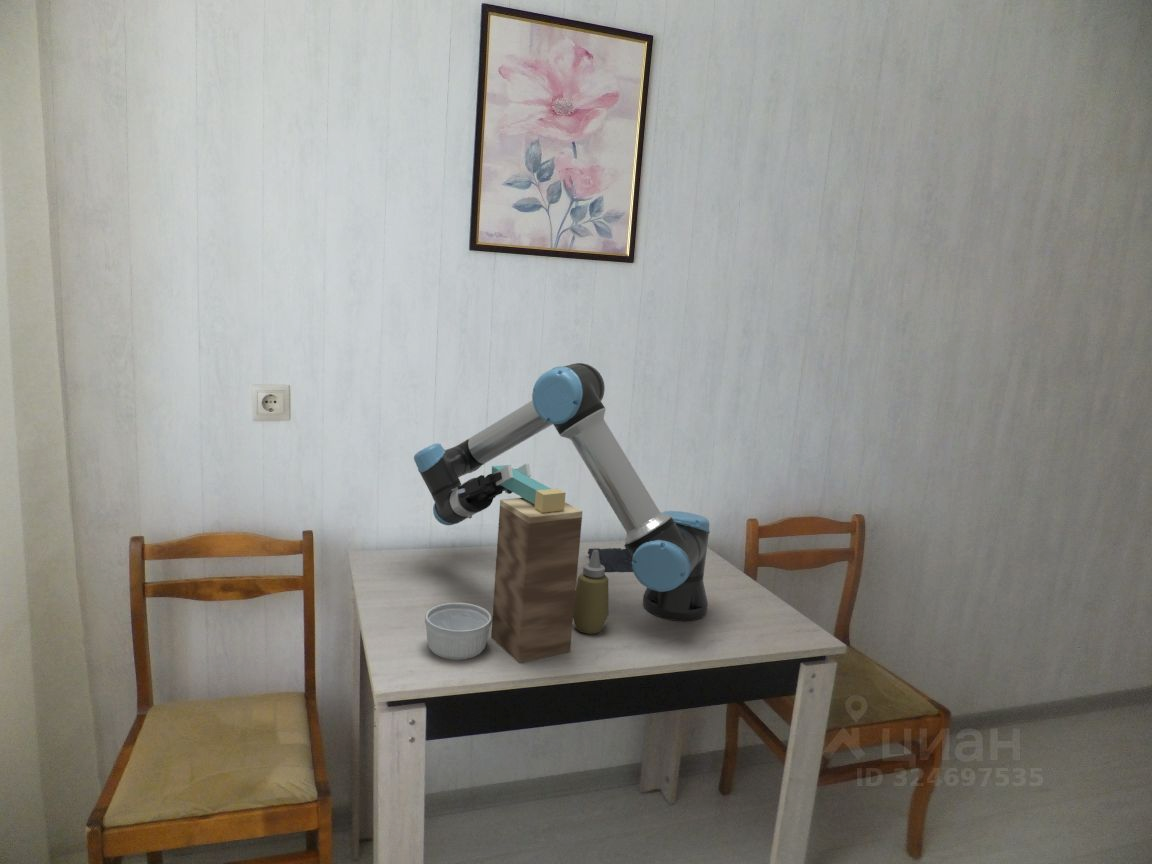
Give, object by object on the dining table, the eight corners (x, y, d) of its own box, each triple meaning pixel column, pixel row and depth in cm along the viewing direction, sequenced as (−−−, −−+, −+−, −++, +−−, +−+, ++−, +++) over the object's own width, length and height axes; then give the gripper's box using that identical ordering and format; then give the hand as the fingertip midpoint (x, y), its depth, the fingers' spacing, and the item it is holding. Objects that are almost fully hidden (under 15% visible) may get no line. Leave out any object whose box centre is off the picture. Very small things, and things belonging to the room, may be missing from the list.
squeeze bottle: (570, 619, 187) (577, 542, 183) (607, 622, 187) (614, 546, 183) (569, 635, 179) (576, 555, 175) (607, 638, 179) (614, 559, 175)
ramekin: (496, 660, 165) (498, 627, 164) (429, 666, 161) (431, 633, 160) (481, 631, 178) (483, 600, 176) (418, 635, 173) (420, 604, 172)
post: (491, 637, 175) (500, 499, 169) (540, 627, 181) (551, 494, 175) (519, 662, 165) (529, 517, 159) (570, 651, 172) (582, 511, 165)
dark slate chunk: (581, 554, 230) (583, 537, 229) (656, 552, 236) (657, 536, 235) (598, 575, 216) (600, 557, 215) (677, 572, 222) (679, 555, 221)
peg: (488, 481, 181) (489, 465, 180) (508, 479, 183) (509, 463, 183) (542, 512, 162) (543, 494, 161) (564, 510, 165) (565, 492, 164)
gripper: (506, 509, 196) (556, 485, 178) (441, 516, 187) (486, 491, 168) (501, 478, 198) (550, 451, 179) (436, 484, 189) (480, 455, 170)
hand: (519, 470), depth 174 cm, fingers closed on peg, 4 cm apart
